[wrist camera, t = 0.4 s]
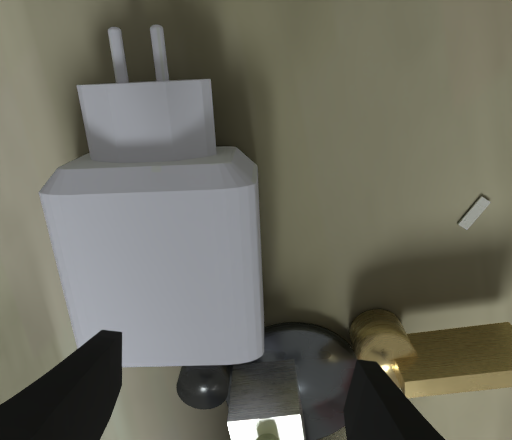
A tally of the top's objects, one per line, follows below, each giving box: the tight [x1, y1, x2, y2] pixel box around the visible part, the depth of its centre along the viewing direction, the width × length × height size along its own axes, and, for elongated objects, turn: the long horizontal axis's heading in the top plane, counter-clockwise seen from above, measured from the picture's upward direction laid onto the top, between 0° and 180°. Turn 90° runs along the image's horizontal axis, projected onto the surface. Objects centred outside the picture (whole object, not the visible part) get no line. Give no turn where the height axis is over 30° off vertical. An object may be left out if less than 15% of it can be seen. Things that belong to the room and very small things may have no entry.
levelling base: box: [177, 196, 491, 440], centre depth 21 cm, size 17×18×6 cm
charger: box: [39, 25, 264, 367], centre depth 19 cm, size 5×9×15 cm
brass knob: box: [350, 309, 512, 398], centre depth 21 cm, size 8×3×5 cm, turn 99°
